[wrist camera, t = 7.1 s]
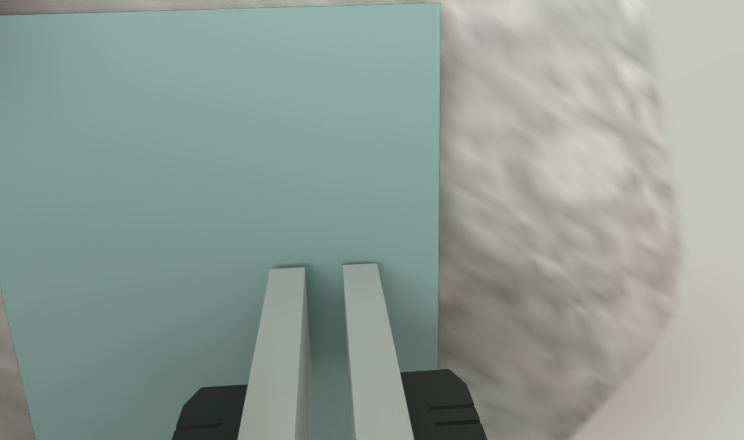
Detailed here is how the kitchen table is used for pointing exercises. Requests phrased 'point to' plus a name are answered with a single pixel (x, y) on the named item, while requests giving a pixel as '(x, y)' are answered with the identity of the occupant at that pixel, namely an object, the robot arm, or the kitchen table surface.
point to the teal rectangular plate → (209, 199)
